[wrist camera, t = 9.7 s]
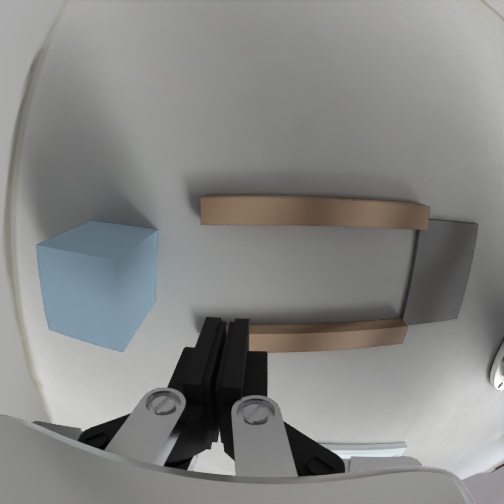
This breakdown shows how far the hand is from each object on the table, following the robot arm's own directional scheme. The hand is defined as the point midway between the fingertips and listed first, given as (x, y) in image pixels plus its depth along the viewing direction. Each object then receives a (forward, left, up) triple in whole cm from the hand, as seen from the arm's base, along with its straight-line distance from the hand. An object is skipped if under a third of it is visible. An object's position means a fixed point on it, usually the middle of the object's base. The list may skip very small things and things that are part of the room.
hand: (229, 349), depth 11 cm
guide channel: (-8, 0, -7) cm, 11 cm away
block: (+8, -1, -7) cm, 11 cm away
